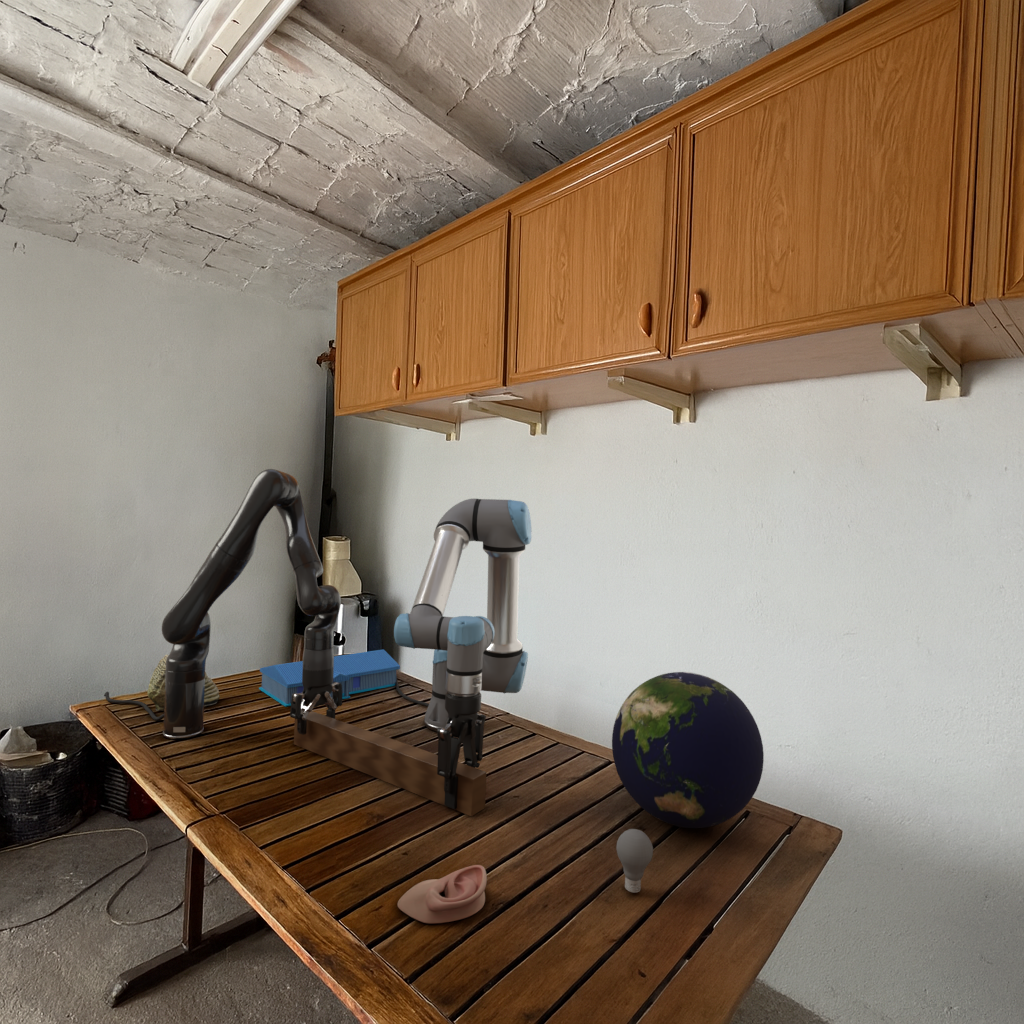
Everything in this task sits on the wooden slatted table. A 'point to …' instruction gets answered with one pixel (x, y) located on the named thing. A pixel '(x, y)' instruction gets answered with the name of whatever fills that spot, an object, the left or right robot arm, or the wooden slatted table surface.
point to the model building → (348, 670)
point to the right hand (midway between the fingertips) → (458, 801)
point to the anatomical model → (446, 896)
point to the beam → (390, 761)
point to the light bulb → (634, 857)
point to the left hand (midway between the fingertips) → (316, 729)
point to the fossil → (158, 687)
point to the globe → (687, 750)
